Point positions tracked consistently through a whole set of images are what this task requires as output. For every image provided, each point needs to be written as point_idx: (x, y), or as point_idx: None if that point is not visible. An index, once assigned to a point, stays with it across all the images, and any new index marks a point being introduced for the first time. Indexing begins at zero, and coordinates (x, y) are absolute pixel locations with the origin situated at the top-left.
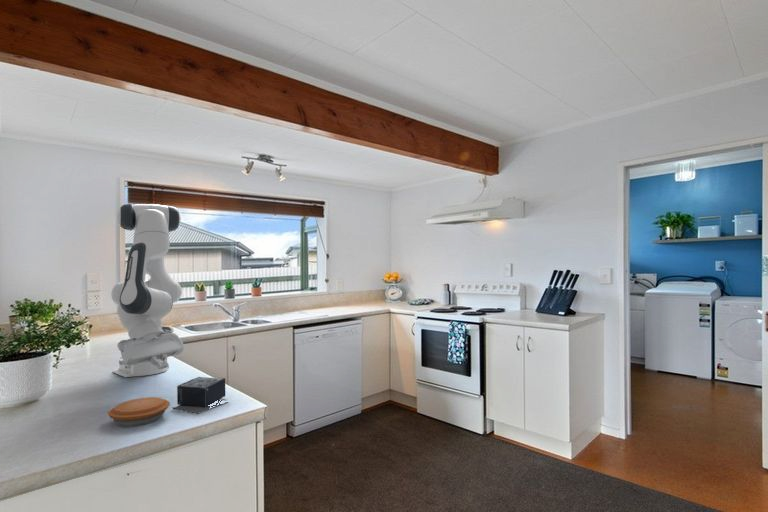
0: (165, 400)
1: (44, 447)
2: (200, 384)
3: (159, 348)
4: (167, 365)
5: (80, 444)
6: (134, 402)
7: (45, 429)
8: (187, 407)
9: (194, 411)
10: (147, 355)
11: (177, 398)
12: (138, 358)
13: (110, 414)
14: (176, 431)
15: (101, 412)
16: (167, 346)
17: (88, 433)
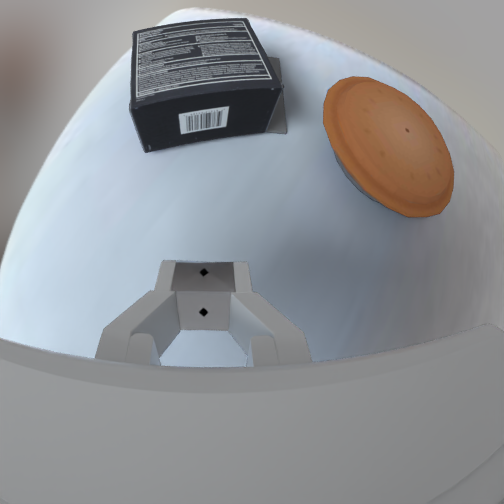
0: (332, 106)
1: (492, 207)
2: (226, 38)
3: (151, 459)
4: (173, 263)
5: (466, 161)
6: (415, 149)
7: (485, 306)
8: None
9: (274, 67)
10: (396, 353)
11: (271, 117)
12: (460, 332)
13: (452, 165)
14: (354, 51)
15: (410, 323)
16: (6, 426)
17: (458, 193)
